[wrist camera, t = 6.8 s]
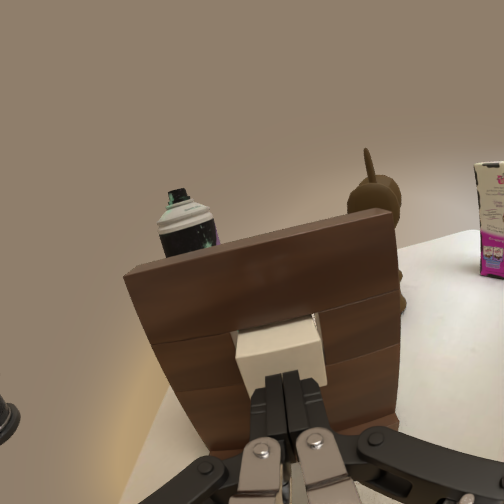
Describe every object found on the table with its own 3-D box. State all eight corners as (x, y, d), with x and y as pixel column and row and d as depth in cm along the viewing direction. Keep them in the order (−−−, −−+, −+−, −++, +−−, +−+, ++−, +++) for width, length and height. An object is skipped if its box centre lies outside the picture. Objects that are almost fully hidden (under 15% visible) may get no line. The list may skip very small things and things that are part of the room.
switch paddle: (327, 385, 13) (321, 339, 12) (250, 401, 13) (234, 357, 12) (317, 355, 15) (310, 312, 15) (251, 369, 16) (238, 328, 15)
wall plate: (397, 432, 15) (402, 213, 11) (214, 470, 16) (113, 283, 12) (367, 373, 23) (348, 200, 19) (223, 404, 24) (162, 246, 20)
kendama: (410, 291, 34) (391, 145, 30) (409, 330, 27) (389, 141, 22) (370, 294, 38) (347, 152, 33) (359, 331, 30) (330, 152, 25)
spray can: (204, 382, 28) (139, 200, 23) (213, 355, 33) (161, 195, 29) (253, 376, 27) (195, 182, 23) (255, 348, 33) (208, 181, 28)
